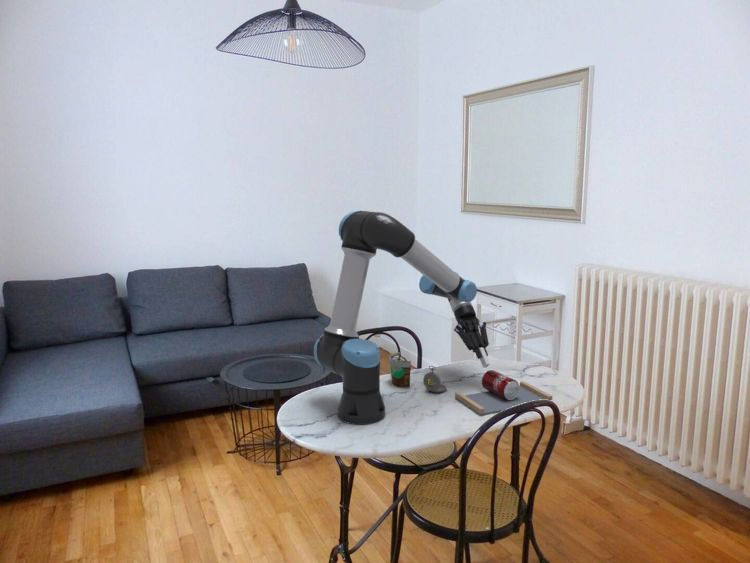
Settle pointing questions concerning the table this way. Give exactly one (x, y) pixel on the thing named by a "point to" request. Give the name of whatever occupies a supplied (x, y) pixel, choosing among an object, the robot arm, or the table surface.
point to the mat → (500, 399)
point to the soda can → (500, 385)
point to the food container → (400, 370)
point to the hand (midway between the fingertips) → (486, 365)
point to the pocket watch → (433, 382)
